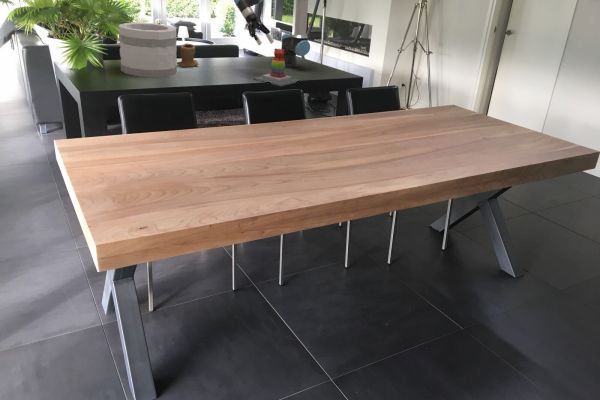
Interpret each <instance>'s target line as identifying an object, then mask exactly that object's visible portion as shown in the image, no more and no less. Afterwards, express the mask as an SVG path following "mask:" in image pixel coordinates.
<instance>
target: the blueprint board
mask: <svg viewBox="0 0 600 400" xmlns="http://www.w3.org/2000/svg"><path fill="white" fill-rule="evenodd" d="M254 79H258V80H262V81H267V82H270V83H271V84H270V85H274V86H277V87H283V86H288V85H292V84H296V82H297V81H299V82H300V79H296V78H294V77H293V78H292V76H289V75H286V76H285V77H273V76H271V75H270V73H267V74H262V75H260V76H255V77H253V80H254ZM297 83H298V82H297Z"/></svg>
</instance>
